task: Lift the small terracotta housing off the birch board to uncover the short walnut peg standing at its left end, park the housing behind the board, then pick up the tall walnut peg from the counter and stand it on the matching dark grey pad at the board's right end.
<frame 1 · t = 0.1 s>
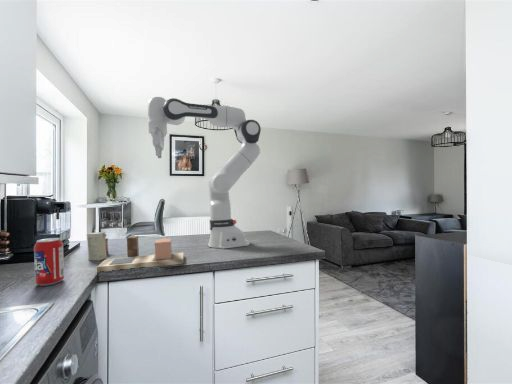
hand: (158, 157, 136), 48 cm above the worktop, tool pointing down, fingers open, 8 cm apart
skincare box: (97, 259, 121), on the worktop
peg: (133, 258, 121), on the worktop
lighter: (99, 255, 130), on the worktop
housing: (163, 256, 114), point 2 cm above the worktop, touching board
soda can: (50, 283, 91), on the worktop
pad: (123, 260, 110), resting on board
board: (144, 263, 112), on the worktop
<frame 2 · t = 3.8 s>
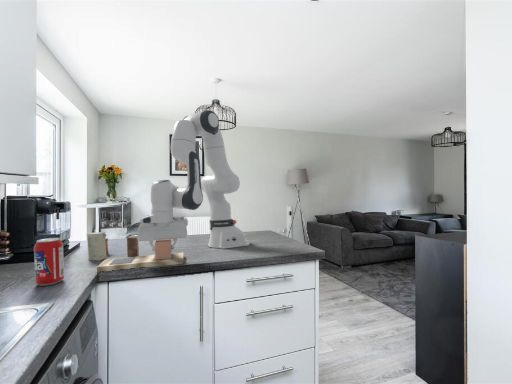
hand: (163, 249, 114), 5 cm above the worktop, tool pointing down, fingers closed on housing, 6 cm apart
housing: (163, 256, 114), point 2 cm above the worktop, touching board, gripper
everything else where it was.
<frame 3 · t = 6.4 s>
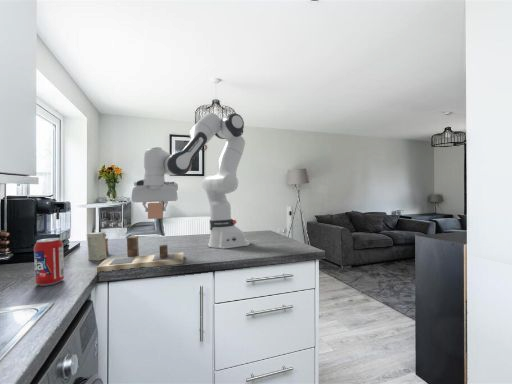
hand: (155, 211, 125), 21 cm above the worktop, tool pointing down, fingers closed on housing, 6 cm apart
housing: (155, 217, 125), point 18 cm above the worktop, touching gripper
everything else where it was.
when the fingers open (4 cm above the worktop, at t = 8.8 s): housing drops 1 cm, on the worktop.
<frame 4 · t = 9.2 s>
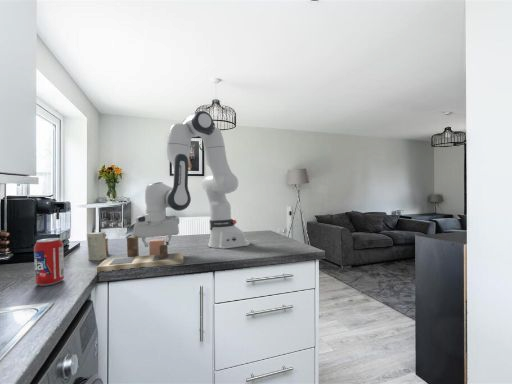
hand: (157, 245, 126), 5 cm above the worktop, tool pointing down, fingers open, 8 cm apart
housing: (157, 255, 125), on the worktop
everything else where it was.
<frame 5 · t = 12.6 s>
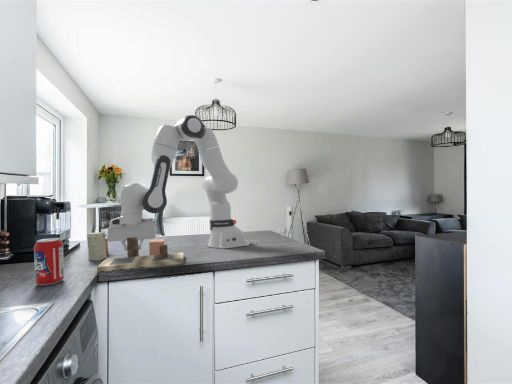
hand: (133, 249, 121), 4 cm above the worktop, tool pointing down, fingers closed on peg, 4 cm apart
peg: (133, 258, 121), on the worktop, touching gripper
everything else where it was.
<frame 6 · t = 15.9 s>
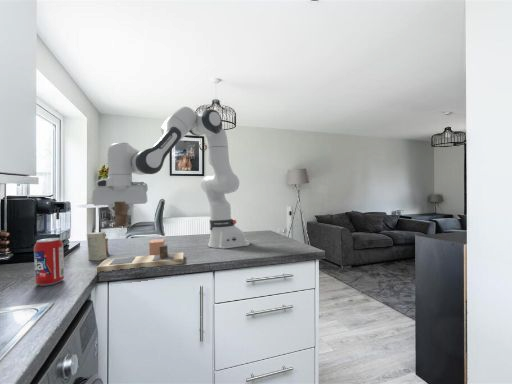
hand: (121, 215, 109), 21 cm above the worktop, tool pointing down, fingers closed on peg, 4 cm apart
peg: (121, 225, 109), point 17 cm above the worktop, touching gripper
everything else where it was.
when the fingers open (7 cm above the worktop, at t = 19.3 s): peg stays where it is, resting on pad.
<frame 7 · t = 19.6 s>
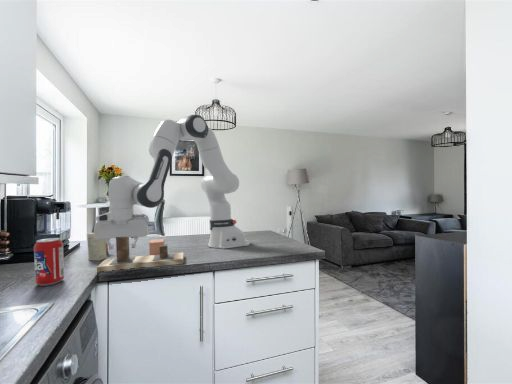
hand: (122, 248, 110), 7 cm above the worktop, tool pointing down, fingers open, 7 cm apart
peg: (123, 260, 110), point 2 cm above the worktop, touching pad
everything else where it was.
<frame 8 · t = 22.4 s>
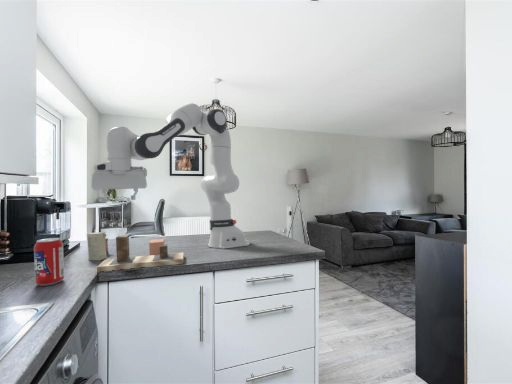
hand: (120, 200, 109), 27 cm above the worktop, tool pointing down, fingers open, 8 cm apart
nothing on the worktop moved.
at the end: peg 0.1 cm from the pad (horizontally); peg tilted 0°; housing moved 13.7 cm from its start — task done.
